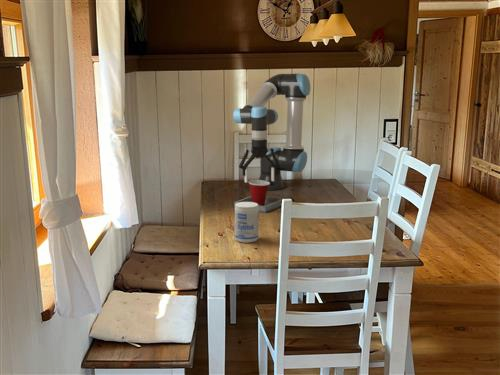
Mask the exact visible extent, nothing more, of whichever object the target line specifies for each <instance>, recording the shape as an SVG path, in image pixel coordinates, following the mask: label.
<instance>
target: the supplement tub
mask: <svg viewBox="0 0 500 375" xmlns="http://www.w3.org/2000/svg"><path fill="white" fill-rule="evenodd" d="M259 213H260V212H259V208H258V204H257V203H254V202H239V203H236V204H235V208H234V239H235V241H237V242H240V243H245V244H246V243H248V244H249V243H253V242H257V241H258V240H259V221H260V220H259V216H260V215H259Z"/></svg>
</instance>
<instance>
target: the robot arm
mask: <svg viewBox="0 0 500 375" xmlns="http://www.w3.org/2000/svg"><path fill="white" fill-rule="evenodd" d="M310 94H311V82H310V78H309V77H308V76H307V74H305V73H278V74H276V75H273V76H271V77H270V78H268V79H267V80H265V81H264V82H263V83H262V84H261V86H260V89H259V90H258V91H257V92H256V93H255V95H253V97H251V98H250V100H249V101H248V102H247V103H246V104H245V105H244V106H243V107H242V108H241V107H240V108H235V109H234V111H233V113H232V114H233V121H234V123H236V124H241V125H244V124H245V125H249V124H250V125H251V149H248V148H245V149H244V154H243V156H242V158H241V160H240V163H239V164H238V168H239V169H240V170H241V169H242V176H243V177H244V183H246V184H247V183H248V169H247V168H248V167H249V165H250V164H251V162H252V161H253V160H255V159H260V168H259V170H260V175H259V178H258V180H263V181H267V182H269V183H270V184H269V186H268V189H267V191H276V190H281V189H284V180H283V178H282V173H281V172H282V171H283V172H291V173H292V172H293V173H301V172H303V170H305V168H306V166H307V164H308V163H307V162H308V153H307V152H306V151H305V149H304V147H303V145H302V139H303V137H302V135H303V134H302V133H303V118H304V117H303V114H304V102H305V100H306V99H307V96H309V95H310ZM276 96H284V98H285V100H286V102H287V109H286V110H287V112H286V113H287V114H286V134H285V136H286V138H285V145H284V146H283V147H279V146H275V147H274V146H273V147H268V140H267V138H268V126H269V125H273V124H275V123H277V122H278V119H279V114H278V111H276V109H273V108H268V109H267V107H266V104H268V102H269V101H270V100H271V99H273V98H275V97H276ZM250 153H251V155H250ZM249 155H250V157H249V158H248V156H249ZM247 158H248V159H247ZM246 160H247V161H246Z"/></svg>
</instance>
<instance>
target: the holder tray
mask: <svg viewBox="0 0 500 375" xmlns="http://www.w3.org/2000/svg"><path fill="white" fill-rule="evenodd" d="M282 199H283V198H276V197H269V196H266V199H265V204H264V206H260V205H258V208H259V213H263V214H266V213H269V212H272V211H274V210H275V209H279V208H281V207H282V206H281V203H282ZM239 202H252V198H251V195H250V196H247V197H244V198H242V199H239V200H237V201H236V200H235V201H234V203H233V205H234V206H233V208H234V209H235V204H236V203H239ZM280 206H281V207H280ZM273 209H274V210H273Z"/></svg>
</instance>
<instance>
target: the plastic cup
mask: <svg viewBox="0 0 500 375" xmlns="http://www.w3.org/2000/svg"><path fill="white" fill-rule="evenodd" d="M247 183H248V185H249V190H250V196H251V198H252V202H254V203H257V204H258V205H260V206H264V204H265V199H266V197H267V192H268V190H267V189H268V186H269V184H270V183H269V182H267V181H263V180H259V179H251V180H247Z"/></svg>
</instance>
